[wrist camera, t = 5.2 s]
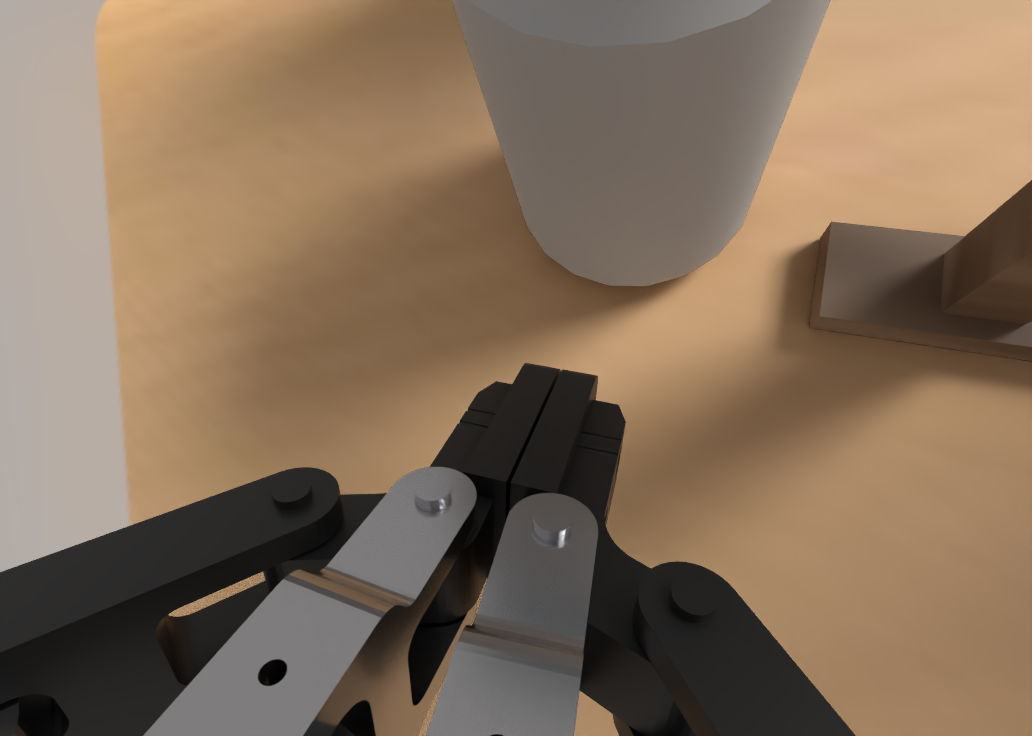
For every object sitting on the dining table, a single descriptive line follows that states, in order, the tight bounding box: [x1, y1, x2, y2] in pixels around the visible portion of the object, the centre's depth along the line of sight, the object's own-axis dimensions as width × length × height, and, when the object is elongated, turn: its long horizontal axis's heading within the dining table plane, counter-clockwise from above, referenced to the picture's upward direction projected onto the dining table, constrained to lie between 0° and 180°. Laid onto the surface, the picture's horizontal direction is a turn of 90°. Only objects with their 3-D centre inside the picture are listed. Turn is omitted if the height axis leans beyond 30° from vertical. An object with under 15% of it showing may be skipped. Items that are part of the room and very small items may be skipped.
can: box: [452, 0, 830, 286], centre depth 14 cm, size 8×8×12 cm
